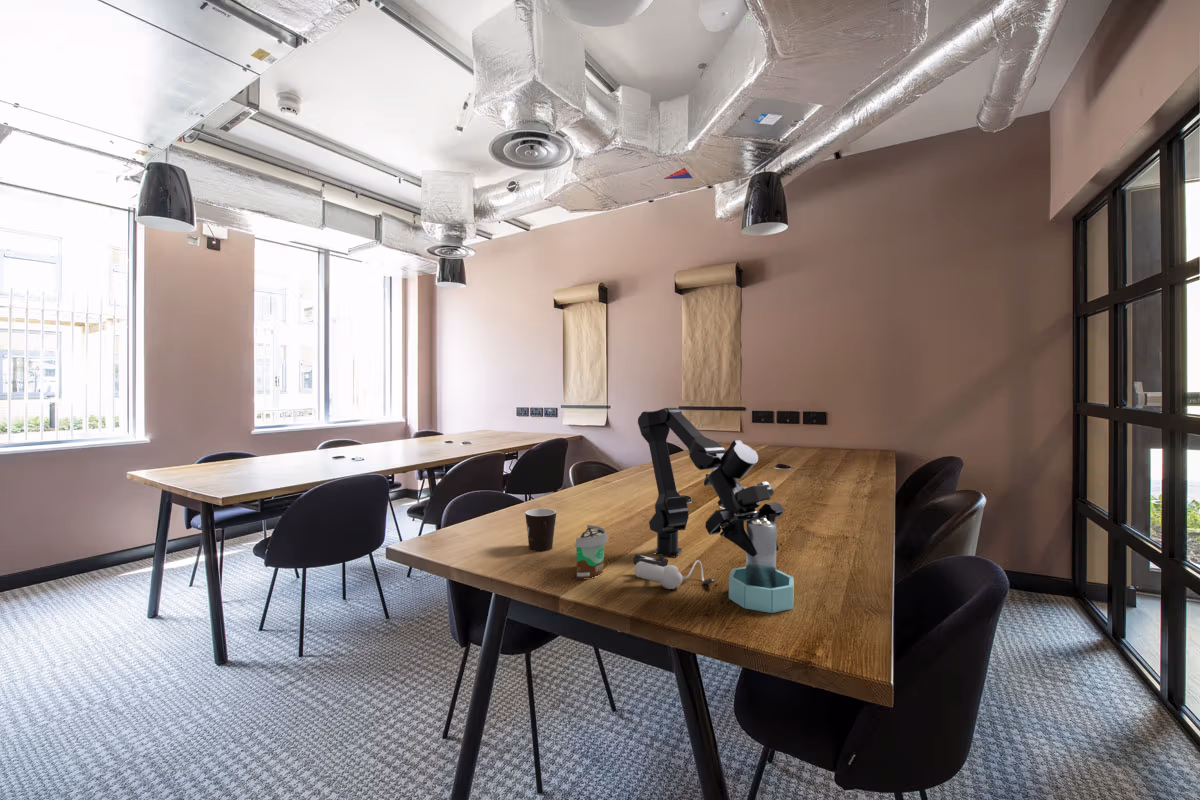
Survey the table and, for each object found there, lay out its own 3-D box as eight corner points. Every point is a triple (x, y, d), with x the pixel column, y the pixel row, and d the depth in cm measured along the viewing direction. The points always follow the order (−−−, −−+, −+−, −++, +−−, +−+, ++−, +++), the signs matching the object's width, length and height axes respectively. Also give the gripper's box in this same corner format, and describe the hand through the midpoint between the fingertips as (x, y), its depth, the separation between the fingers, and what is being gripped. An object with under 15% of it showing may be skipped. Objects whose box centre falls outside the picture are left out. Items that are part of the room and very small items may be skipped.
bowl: (734, 583, 111) (734, 563, 111) (794, 592, 106) (794, 571, 106) (725, 605, 99) (725, 583, 99) (792, 616, 94) (792, 593, 94)
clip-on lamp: (704, 587, 116) (631, 568, 117) (710, 561, 116) (637, 542, 118) (712, 603, 104) (631, 582, 106) (719, 574, 105) (637, 553, 106)
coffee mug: (530, 542, 140) (530, 508, 140) (559, 544, 139) (559, 509, 139) (517, 555, 129) (517, 518, 129) (549, 557, 128) (549, 519, 127)
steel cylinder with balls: (742, 576, 106) (743, 515, 105) (770, 577, 105) (771, 515, 105) (750, 588, 100) (751, 522, 99) (779, 588, 99) (780, 523, 99)
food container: (601, 584, 110) (602, 539, 110) (575, 581, 111) (575, 538, 111) (611, 565, 122) (611, 525, 122) (587, 563, 123) (587, 524, 123)
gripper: (714, 472, 101) (753, 539, 92) (778, 466, 110) (820, 527, 100) (690, 502, 108) (724, 567, 99) (752, 494, 117) (788, 554, 107)
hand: (765, 553), depth 101 cm, fingers closed on steel cylinder with balls, 6 cm apart
